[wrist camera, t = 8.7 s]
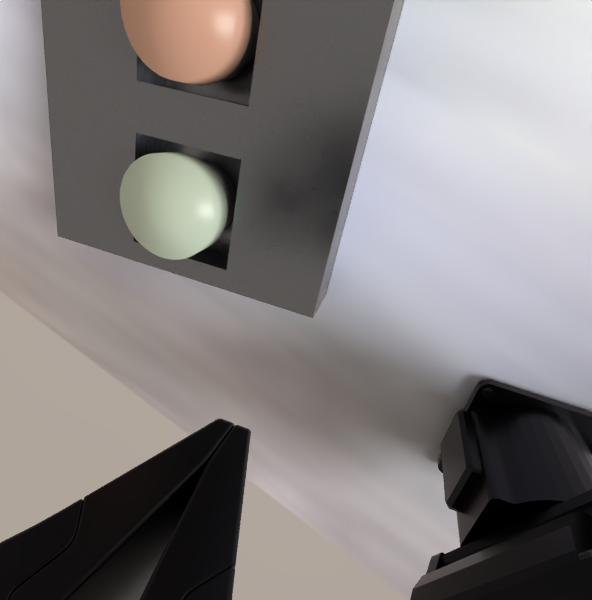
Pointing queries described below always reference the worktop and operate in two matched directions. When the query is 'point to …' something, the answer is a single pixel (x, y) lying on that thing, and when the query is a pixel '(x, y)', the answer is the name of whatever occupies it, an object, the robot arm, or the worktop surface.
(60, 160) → the console
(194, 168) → the button sage
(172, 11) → the button terracotta
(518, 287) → the worktop surface
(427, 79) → the worktop surface
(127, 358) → the worktop surface
